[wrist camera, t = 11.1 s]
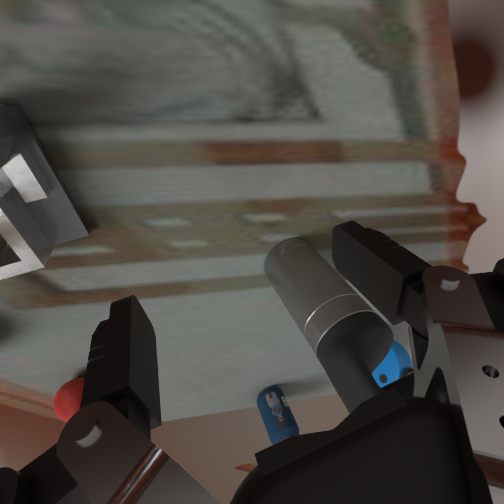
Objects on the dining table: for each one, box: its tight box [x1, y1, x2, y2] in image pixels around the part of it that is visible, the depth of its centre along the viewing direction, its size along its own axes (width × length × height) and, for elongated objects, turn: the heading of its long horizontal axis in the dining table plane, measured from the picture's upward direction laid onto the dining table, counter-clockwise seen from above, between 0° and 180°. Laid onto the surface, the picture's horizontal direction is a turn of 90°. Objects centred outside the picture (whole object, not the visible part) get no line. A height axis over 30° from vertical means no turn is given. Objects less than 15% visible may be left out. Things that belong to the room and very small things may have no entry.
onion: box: [54, 377, 85, 423], centre depth 44 cm, size 6×6×8 cm
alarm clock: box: [372, 340, 414, 388], centre depth 67 cm, size 13×6×15 cm, turn 152°
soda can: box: [257, 386, 299, 445], centre depth 66 cm, size 7×7×12 cm
